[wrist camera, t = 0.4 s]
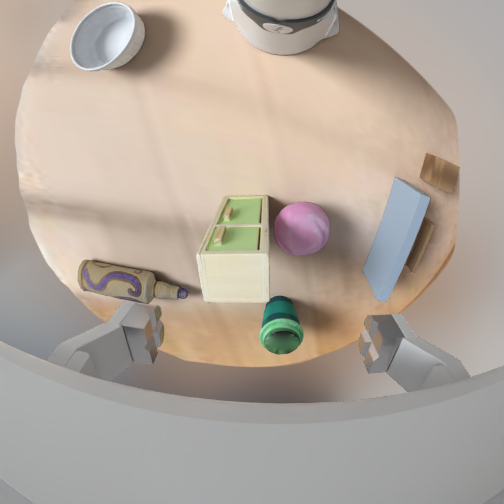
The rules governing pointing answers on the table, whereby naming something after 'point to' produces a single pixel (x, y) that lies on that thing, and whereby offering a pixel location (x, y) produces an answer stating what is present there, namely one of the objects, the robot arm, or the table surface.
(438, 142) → the table surface
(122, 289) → the decorative bottle
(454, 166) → the tan wooden cube
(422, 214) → the wall board
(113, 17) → the ramekin
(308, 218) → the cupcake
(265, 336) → the cup
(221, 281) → the toy refrigerator
